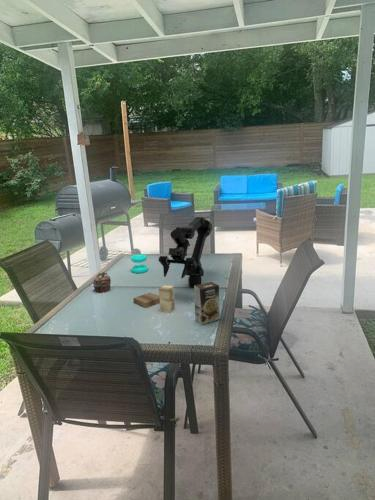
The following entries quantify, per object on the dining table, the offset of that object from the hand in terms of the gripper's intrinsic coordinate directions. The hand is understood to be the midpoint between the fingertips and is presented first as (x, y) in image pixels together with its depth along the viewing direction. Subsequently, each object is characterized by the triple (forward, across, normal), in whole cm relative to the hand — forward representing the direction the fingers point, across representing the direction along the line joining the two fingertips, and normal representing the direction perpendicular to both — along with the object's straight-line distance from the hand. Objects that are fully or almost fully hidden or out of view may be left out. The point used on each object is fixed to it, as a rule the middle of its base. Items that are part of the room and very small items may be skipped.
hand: (173, 277), depth 187 cm
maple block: (+15, 0, +4) cm, 16 cm away
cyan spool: (-20, -44, +39) cm, 62 cm away
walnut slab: (+12, -13, +8) cm, 20 cm away
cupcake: (+6, -46, +14) cm, 49 cm away
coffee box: (+19, +22, 0) cm, 29 cm away
